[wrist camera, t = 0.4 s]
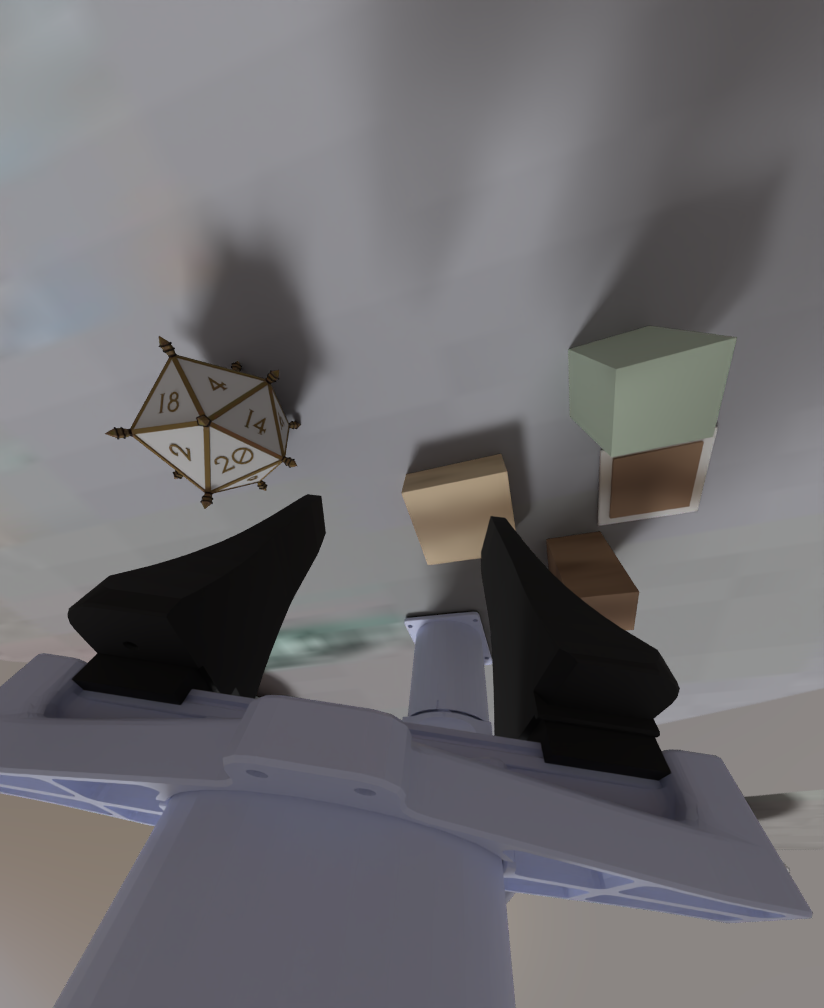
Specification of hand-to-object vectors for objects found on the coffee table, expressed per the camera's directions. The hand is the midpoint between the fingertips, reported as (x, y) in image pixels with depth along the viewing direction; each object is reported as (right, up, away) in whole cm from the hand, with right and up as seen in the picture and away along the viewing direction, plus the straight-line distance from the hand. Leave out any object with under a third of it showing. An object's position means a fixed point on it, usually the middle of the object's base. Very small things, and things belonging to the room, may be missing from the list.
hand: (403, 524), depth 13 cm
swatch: (+17, +3, +8) cm, 19 cm away
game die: (-10, +8, +8) cm, 15 cm away
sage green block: (+12, +8, +5) cm, 15 cm away
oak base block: (+4, +1, +11) cm, 12 cm away
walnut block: (+14, -3, +12) cm, 19 cm away
